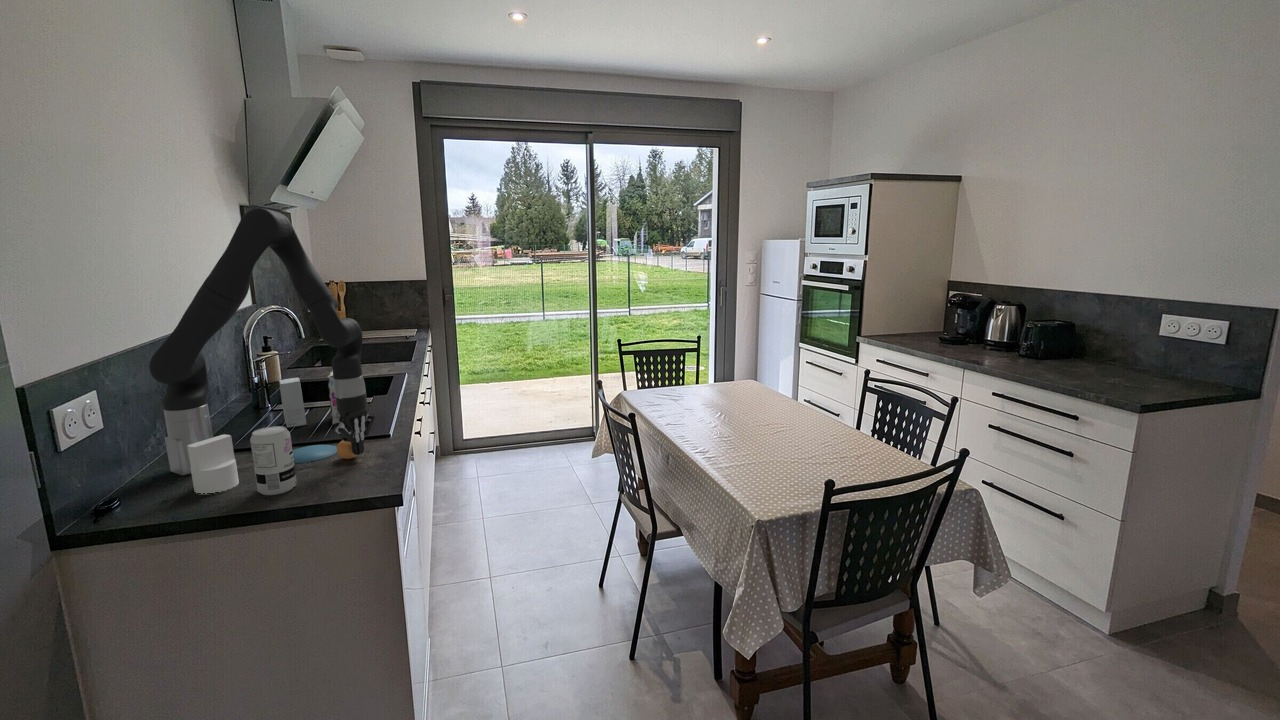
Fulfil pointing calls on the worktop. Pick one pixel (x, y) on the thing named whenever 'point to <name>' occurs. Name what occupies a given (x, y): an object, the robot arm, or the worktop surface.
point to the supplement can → (273, 460)
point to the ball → (345, 450)
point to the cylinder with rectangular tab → (213, 465)
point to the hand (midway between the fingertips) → (358, 453)
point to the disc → (313, 453)
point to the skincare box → (292, 402)
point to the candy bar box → (333, 400)
